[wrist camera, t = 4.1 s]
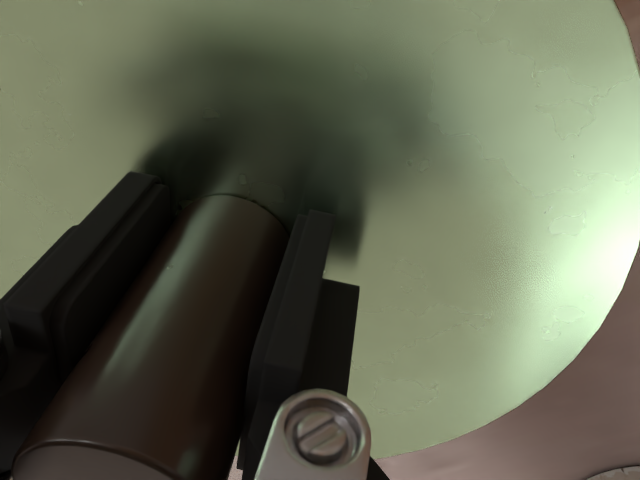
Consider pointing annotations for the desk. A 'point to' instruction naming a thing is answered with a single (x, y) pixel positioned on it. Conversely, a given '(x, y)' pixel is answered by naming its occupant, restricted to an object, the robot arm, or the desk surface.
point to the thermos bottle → (619, 474)
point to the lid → (321, 204)
